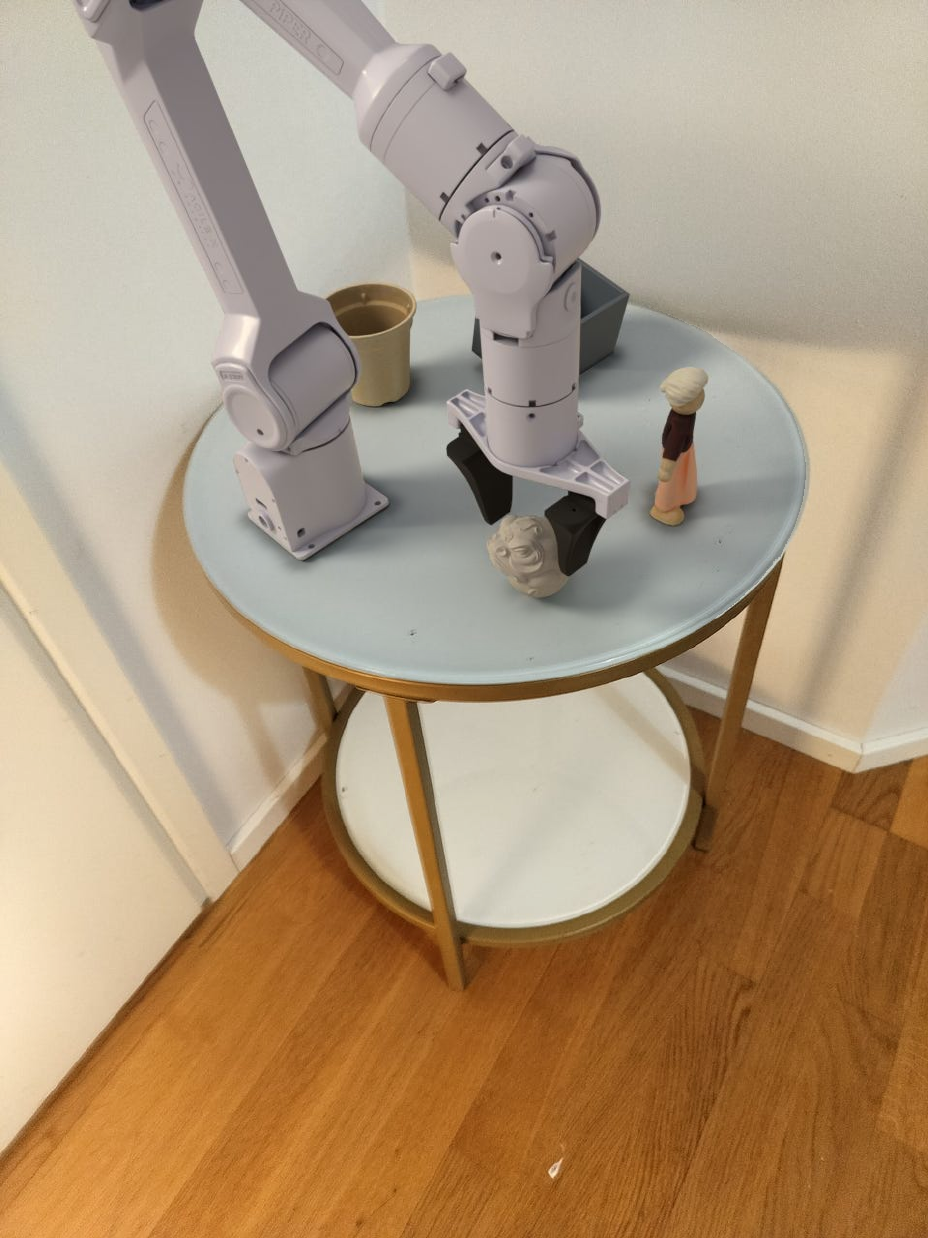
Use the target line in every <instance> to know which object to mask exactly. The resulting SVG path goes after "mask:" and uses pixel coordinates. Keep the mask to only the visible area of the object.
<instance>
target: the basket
mask: <svg viewBox="0 0 928 1238" xmlns="http://www.w3.org/2000/svg"><path fill="white" fill-rule="evenodd" d="M574 262H580V263H581V297H580V307H581V311H580V351H579V376H580V375H582V374H583V373H585V372H586V371H588V370H589V369H591V368H592V367H594V366H596V365H597V364H599V363H600V362H601V361H603V360H605V359H606V358H608V357H610V356H611V355H612V354H614V353H615V349H616V345H617V340H618V339H619V334H620V330H621V327H622V324H623V320H624V316H625V313H626V310H627V307H628V303H629V299H630V296H631V293H629V292H628V291H626V290H625V289H624V288H622V287H621V286H619V285H618V284H616V283H615V282H614V281H612V280H611V279H610V278H608V277H607V276H605V275H604V274H603V273H601V272H600V271H598V270H597V269H595V268H594V267H592V266H591V265H590V264H588V263H587V262H585V261H584V260H583V259H582V258H580V257H578V258H577V259H576V260H575V261H574ZM473 323H474V324H473V331H472V332H473V334H472V341H471V342H472V343H471V352H472V353H474V354H475V355H476V356H477V357H479V358H480V359H481V360H482V348H481V334H480V320H479V319H477V318H476V316H475V315H474V322H473Z"/></svg>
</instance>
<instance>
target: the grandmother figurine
mask: <svg viewBox="0 0 928 1238" xmlns="http://www.w3.org/2000/svg"><path fill="white" fill-rule="evenodd" d="M708 382H709V374H708V372H707V371H705V370H704V369H702V368H698V367H695V366H686V367H680V368H677V369H676V370H674V371H672V372H671V373H670V374H669V375H668V376H667V377H665V379H664V380H663V381H662V382H661V384H660V385H659V390H660V391H661V392H662V393H665V398H666V400H667V401H668V403H669V406H670V408H671V409H670V411H669V412H668V415H667V418H666V421H665V424H664V427H663V431H662V434H661V463H660V469H659V471H658V473H657V478H658V486H657V489H656V490H655V492H654V498H655V499H654V505H653V506H652V507H651V509H650V512H649V514H650V516H651V518H653V519H655V520H656V521H659V522H661V523H663V524H665V525H667V526H673V527H674V526H679V525H680V524H682V523H683V521H684V519H685V512H684V511H683V510H682V508H681V506H683V505H689V504H691V503H693V502H694V501H695V499H697V492H698V491H697V490H698V470H697V469H698V468H697V460H696V450H695V449H696V448H695V443H694V442H695V441H694V432H695V426H696V419H697V412H698V411H699V410H700V409H701V408H702V406H703V405H704V402H705V398H706V393H705V389H704V388H705V387H706V385H707V384H708Z"/></svg>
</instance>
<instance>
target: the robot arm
mask: <svg viewBox="0 0 928 1238" xmlns="http://www.w3.org/2000/svg"><path fill="white" fill-rule="evenodd" d="M239 1H240V2H241V3H242V4H243V5H244V6H245V7H246V8H247V9H249V10H250V11H251V12H252V14H254V15H255V16H256V17H257V18H258V19H260V20H261V21H262V22H264V24H266V25H267V27H269V28H270V29H271V30H272V31H273V32H275V33H276V34H277V36H279V37H281V39H283V40H284V42H286V43H287V44H288V45H289V46H290V47H292V49H293V50H295V51H296V52H297V53H298V54H299V55H301V57H303V58H304V59H305V60H306V61H307V62H308V63H309V64H311V65H312V66H313V67H314V68H315V69H316V70H317V71H319V72H320V73H321V74H322V75H323V76H324V78H326V79H328V81H330V82H331V83H332V84H333V85H334V86H336V87H337V88H338V90H340V91H341V92H342V93H343V94H344V95H345V96H347V98H349V99H350V100H351V101H352V102H353V105H354V111H355V120H356V121H355V122H356V130H357V135H358V140H359V141H360V143H361V144H362V145H363V146H364V148H366V149H367V150H368V151H369V152H370V153H371V154H372V155H373V156H374V158H376V160H378V162H379V163H381V164H382V165H383V166H384V167H385V168H386V169H387V171H389V172H390V173H391V174H392V175H393V176H394V177H395V178H396V180H398V181H399V182H400V184H402V186H404V187H405V188H406V189H407V191H409V193H410V194H411V195H412V196H413V197H414V198H415V199H416V200H417V201H418V202H420V204H421V205H422V206H423V207H424V208H425V209H426V210H427V211H428V212H429V213H430V214H431V215H432V216H433V217H434V218H435V219H436V220H437V221H438V222H439V223H440V224H441V225H442V226H443V227H444V228H445V229H446V230H447V231H448V232H449V233H450V234H451V235H452V236H453V237H454V238H455V240H454V241H452V242H450V244H449V246H450V253H451V257H452V260H453V263H454V266H455V268H456V270H457V273H458V274H459V276H460V278H461V279H462V281H463V282H464V283H465V285H466V286H467V288H468V289H469V291H470V293H471V295H472V298H473V303H474V317H475V316H476V318H477V319H479V320H480V334H481V348H482V359H481V361H482V374H483V387H484V388H483V389H484V395H482V394H479V393H477V392H474V391H473V390H470V389H468V388H466V389H464V390H462V391H461V392H459V393H457V394H456V395H454V396H453V397H451V398H449V399H448V400H446V402H445V403H446V413H447V421H448V425H450V426H451V427H453V428H455V429H457V430H459V431H460V432H458V433H457V435H458V436H457V437H456V438H454V439H452V440H451V441H449V442H448V443H447V445H446V448H445V449H446V450H445V451H446V452H445V453H446V457H448V459H450V460H451V461H452V462H453V464H454V465H455V466H456V468H457V469H458V470H459V471H460V473H461V474H462V476H463V477H464V479H465V481H466V482H467V484H468V486H469V488H470V490H471V492H472V494H473V496H474V499H475V501H476V503H477V506H478V509H479V511H480V513H481V515H482V518H483V520H484V522H485V523H487V524H488V525H490V526H493V525H494V524H495V523H497V522H498V521H500V520H501V519H504V518H505V517H506V516H508V515H509V514H511V511H512V506H513V500H514V497H513V496H514V477H516V478H520V479H524V480H527V481H530V482H535V483H539V484H542V485H546V486H549V487H553V488H557V489H561V490H564V491H567V495H564V496H562V497H560V498H559V499H558V500H557V501H555V502H554V503H553V504H551V505H550V506H549V507H547V508H546V509H545V510H544V513H543V514H544V515H543V516H544V517H545V518H547V519H548V521H549V522H550V524H551V526H552V528H553V531H554V534H555V537H556V541H557V550H558V564H559V568H560V571H561V573H563V574H564V575H566V576H570V577H572V575H574V574H575V573H576V572H577V571H579V570H580V569H581V568H582V567H583V566H585V565H586V564H588V560H589V557H590V555H591V552H592V549H593V546H594V544H595V542H596V540H597V537H598V535H599V534H600V531H602V528H603V526H604V525H605V523H606V522H607V520H608V519H610V518H612V517H613V516H614V515H615V514H617V513H618V512H619V511H621V510H622V509H624V507H625V506H627V505H628V504H629V496H630V495H629V494H630V483H631V481H630V479H628V478H627V477H625V476H624V475H622V474H620V473H619V472H618V471H617V470H615V468H614V467H613V466H612V465H611V464H610V463H609V462H608V461H607V460H606V459H605V458H604V456H603V455H602V454H601V453H600V452H599V451H598V450H597V448H596V447H595V446H594V445H593V444H592V443H591V442H590V440H589V439H588V438H587V437H586V436H585V435H584V434H583V432H582V431H581V430H580V429H581V428H583V426H584V415H583V414H582V413H581V412H579V383H580V381H579V378H580V375H579V351H580V311H581V307H580V297H581V263H580V262H574V261H575V260H576V259H577V258H580V257H581V256H582V255H583V254H584V253H585V252H586V250H587V249H588V248H589V246H590V244H591V243H592V242H593V240H594V239H595V237H596V235H597V233H598V232H599V228H600V225H601V219H602V218H601V217H602V205H601V204H602V203H601V198H600V195H599V192H598V189H597V186H596V184H595V181H594V180H593V178H592V176H591V175H590V174H589V172H588V171H587V170H586V169H585V168H584V166H583V164H582V162H581V160H580V159H579V157H578V156H576V155H575V154H574V153H572V152H570V151H569V150H566V149H564V148H561V147H558V146H552V145H540V144H539V143H537V142H535V141H534V140H533V139H532V138H531V137H530V136H525V135H524V134H523V133H521V134H518V132H517V131H516V130H515V129H514V128H513V127H512V126H511V125H510V123H508V122H507V120H506V119H505V118H504V117H502V115H500V113H499V112H498V111H497V110H496V109H495V108H494V107H493V106H492V105H491V104H490V102H489V101H487V100H486V98H484V96H483V95H482V94H481V93H480V92H479V91H478V90H477V89H476V88H475V87H474V86H473V84H471V83H470V82H469V81H468V80H467V78H465V76H466V74H467V72H468V69H467V68H466V66H465V65H464V64H463V63H462V62H461V61H460V60H459V59H458V58H457V57H456V56H455V55H454V54H453V53H452V52H451V51H447V52H445V53H442V52H441V51H440V50H439V49H438V48H437V47H436V46H435V45H434V44H431V43H422V42H421V43H400V42H397V41H396V40H395V39H394V37H393V36H392V35H391V34H390V33H389V31H388V30H387V29H386V27H384V25H383V24H382V23H381V22H380V21H379V20H378V19H377V17H376V16H375V15H374V14H373V12H372V11H371V10H370V9H369V8H368V6H367V5H366V4H365V3H364V2H363V1H362V0H239ZM71 3H72V5H73V7H74V10H75V11H76V13H77V15H78V17H79V20H80V21H81V24H82V26H83V28H84V30H85V32H86V34H87V36H88V37H89V38H91V39H92V40H94V42H95V44H96V46H97V49H98V51H99V53H100V55H101V57H102V59H103V61H104V63H105V66H106V68H107V69H108V72H109V74H110V75H111V78H112V80H113V82H114V85H115V86H116V88H117V90H118V93H119V95H120V97H121V99H122V101H123V103H124V105H125V107H126V109H127V112H128V114H129V116H130V118H131V120H132V122H133V124H134V127H135V128H136V130H137V133H138V135H139V137H140V140H141V142H142V143H143V145H144V147H145V149H146V152H147V153H148V156H149V158H150V161H151V162H152V165H153V166H154V169H155V171H156V173H157V175H158V177H159V179H160V182H161V183H162V186H163V188H164V189H165V192H166V194H167V196H168V198H169V200H170V202H171V205H172V206H173V209H174V210H175V213H176V215H177V217H178V219H179V221H180V223H181V225H182V227H183V230H184V232H185V234H186V236H187V238H188V241H189V242H190V244H191V246H192V249H193V251H194V253H195V255H196V258H197V259H198V262H199V263H200V265H201V267H202V270H203V272H204V274H205V276H206V278H207V280H208V282H209V285H210V287H211V289H212V291H213V293H214V295H215V297H216V299H217V301H218V303H219V306H220V308H221V310H222V313H223V315H224V316H223V321H222V324H221V327H220V330H219V333H218V336H217V339H216V342H215V345H214V348H213V351H212V354H211V358H210V365H211V367H212V368H213V371H214V373H215V375H216V378H217V379H218V382H219V387H220V393H221V399H222V404H223V408H224V410H225V413H226V415H227V417H228V419H229V420H230V422H231V423H232V425H233V427H235V429H236V430H237V432H239V433H240V434H241V435H242V436H243V438H245V439H246V440H248V442H247V443H246V444H245V445H243V446H242V447H241V448H240V449H239V450H238V451H237V452H235V454H234V455H233V459H232V460H233V467H234V470H235V474H236V476H237V478H238V479H237V480H238V482H239V484H240V488H241V490H242V493H243V495H244V499H245V501H246V504H247V507H248V510H249V511H248V512H247V516H248V518H249V520H251V522H252V523H254V524H255V525H256V526H257V527H259V528H260V529H261V530H262V531H264V533H266V534H267V535H268V536H270V537H271V538H272V539H273V540H274V541H275V542H276V543H277V544H279V545H280V546H282V547H283V549H285V550H286V551H287V552H289V554H291V555H292V557H294V558H295V559H297V560H299V561H304V560H306V559H308V558H310V557H311V556H313V555H314V554H316V553H317V552H319V551H320V550H322V549H323V548H325V547H326V546H328V545H330V544H331V543H332V542H334V541H336V540H338V538H340V537H342V536H343V535H345V534H346V533H349V531H351V530H352V529H354V528H356V527H357V526H358V525H360V524H362V523H363V522H365V521H366V520H368V519H369V518H370V517H371V518H372V516H374V515H375V514H377V513H378V512H380V511H381V510H383V509H384V508H386V507H387V506H389V504H390V502H389V498H388V497H387V496H385V495H383V494H382V493H381V492H379V491H378V490H377V489H375V488H374V487H373V486H371V485H370V484H368V483H367V482H365V480H364V476H363V471H362V466H361V461H360V457H359V451H358V447H357V443H356V438H355V434H354V429H353V425H352V418H351V415H350V408H351V407H352V405H353V404H354V401H353V399H352V394H351V390H350V389H352V388H353V387H354V386H355V385H356V384H357V383H358V382H359V380H360V377H361V373H362V366H361V360H360V356H359V354H358V351H357V349H356V347H355V345H354V343H353V342H352V340H351V339H350V337H349V336H348V335H347V334H346V332H345V331H344V330H343V329H342V327H341V326H340V324H339V323H338V321H337V319H336V317H335V315H334V313H333V310H332V308H331V305H330V303H329V302H328V301H327V300H325V299H323V298H324V297H321V296H318V295H315V294H312V293H308V292H305V291H302V290H298V287H297V285H296V282H295V280H294V277H293V275H292V273H291V270H290V268H289V265H288V262H287V260H286V258H285V256H284V253H283V251H282V248H281V246H280V243H279V241H278V238H277V236H276V233H275V231H274V229H273V226H272V224H271V221H270V219H269V216H268V213H267V212H266V211H267V210H266V209H265V206H264V204H263V202H262V199H261V197H260V194H259V192H258V190H257V189H258V188H257V187H256V185H255V181H254V180H253V177H252V175H251V172H250V170H249V168H248V165H247V161H246V160H245V157H244V155H243V153H242V150H241V148H240V145H239V143H238V140H237V137H236V136H235V133H234V130H233V128H232V126H231V123H230V121H229V119H228V116H227V114H226V111H225V108H224V106H223V103H222V101H221V99H220V96H219V94H218V92H217V89H216V87H215V84H214V82H213V79H212V77H211V74H210V72H209V70H208V67H207V64H206V62H205V59H204V57H203V54H202V52H201V50H200V47H199V45H198V42H197V40H196V37H195V30H196V27H197V23H198V21H199V17H200V14H201V10H202V7H203V4H204V0H71Z"/></svg>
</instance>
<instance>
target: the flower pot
mask: <svg viewBox="0 0 928 1238" xmlns="http://www.w3.org/2000/svg"><path fill="white" fill-rule="evenodd" d="M322 298H323V299H325V300H327V301H328V302H329V303H330V305H331V308H332V310H333V313H334V315H335V317H336V319H337V321H338V323H339V324H340V326H341V327H342V329H343V330H344V331H345V332H346V334H347V335H348V336H349V337H350V339H351V340H352V342H353V343H354V345H355V347H356V349H357V351H358V354H359V356H360V360H361V366H362V373H361V377H360V380H359V382H358V383H357V384H356V385H355V386H354V387H353V388H352V389H350V390H351V394H352V399H353V402H354V403H357V404H359V405H361V406H367V407H380V406H382V405H383V404H386V403H389V402H393V403H395V402H397V401H399V400H400V399H401V398H403V397H404V396H405V395H406V394H407V393H408V391H409V390H410V386H411V379H410V378H411V376H410V375H411V373H410V371H411V369H410V368H411V361H410V360H411V329H412V328H413V327H412V326H413V323H414V317H415V314H416V313H417V305H418V304H417V300H416V298H415V296H414V294H413V293H412V292H411V291H409V290H408V289H406V288H405V287H403V286H400V285H397V284H394V283H389V282H383V281H381V282H380V281H368V282H366V281H365V282H359V283H353V284H349V285H346V286H343V287H340V288H338V289H336V290H333V291H331V292H330V293H328V294H326V296H324V297H322Z"/></svg>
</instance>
